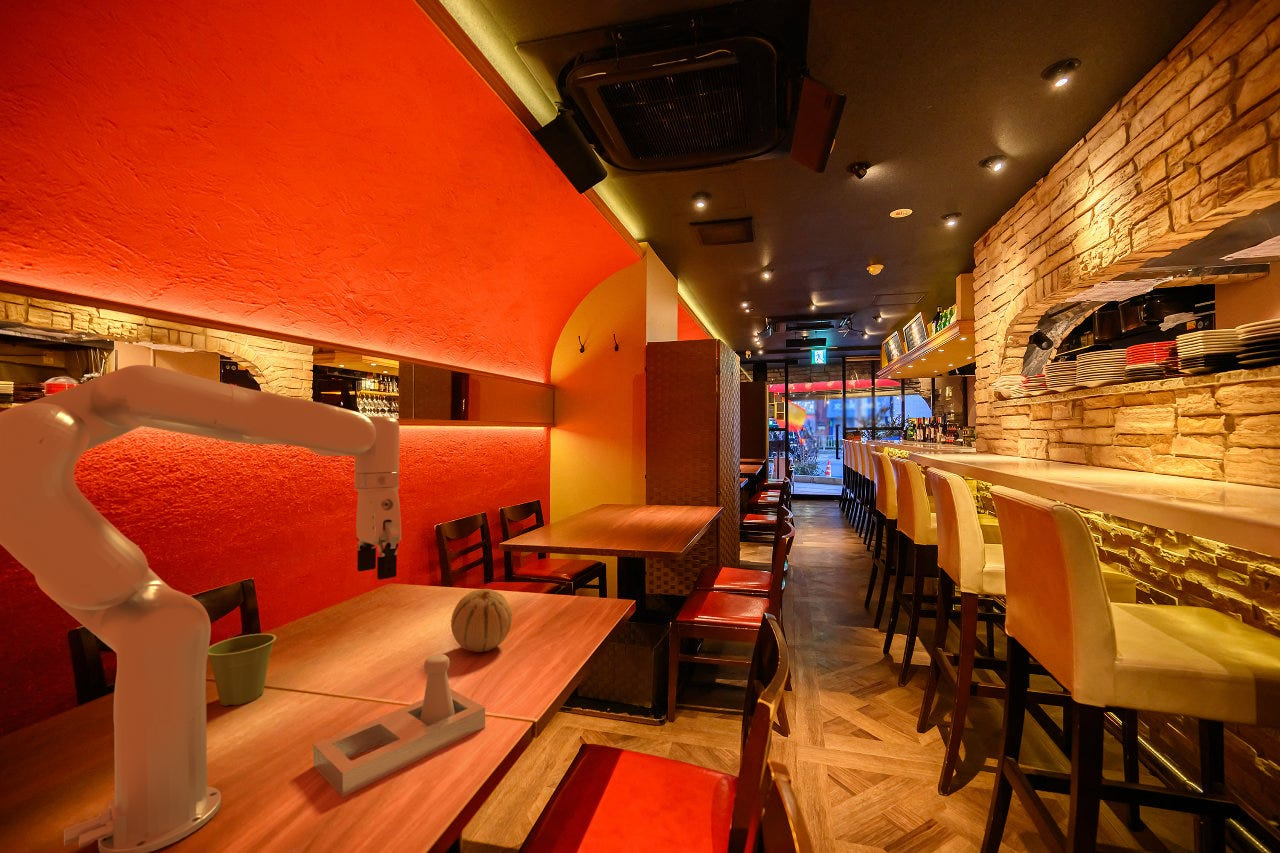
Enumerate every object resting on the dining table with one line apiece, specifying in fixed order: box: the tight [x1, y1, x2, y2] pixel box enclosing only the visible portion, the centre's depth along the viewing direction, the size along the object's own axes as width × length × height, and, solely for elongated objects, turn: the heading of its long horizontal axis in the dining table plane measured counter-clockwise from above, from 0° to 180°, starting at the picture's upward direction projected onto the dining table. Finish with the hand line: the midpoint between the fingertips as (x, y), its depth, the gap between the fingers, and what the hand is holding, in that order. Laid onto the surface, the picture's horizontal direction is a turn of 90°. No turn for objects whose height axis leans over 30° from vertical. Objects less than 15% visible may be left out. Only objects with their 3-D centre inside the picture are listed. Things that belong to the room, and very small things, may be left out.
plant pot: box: [207, 633, 277, 707], centre depth 110 cm, size 12×12×11 cm
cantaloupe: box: [450, 588, 513, 653], centre depth 133 cm, size 15×15×15 cm
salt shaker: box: [420, 653, 455, 726], centre depth 96 cm, size 6×6×13 cm
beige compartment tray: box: [312, 688, 486, 798], centre depth 91 cm, size 24×12×4 cm, turn 139°
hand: (376, 573), depth 100 cm, fingers open, 9 cm apart
